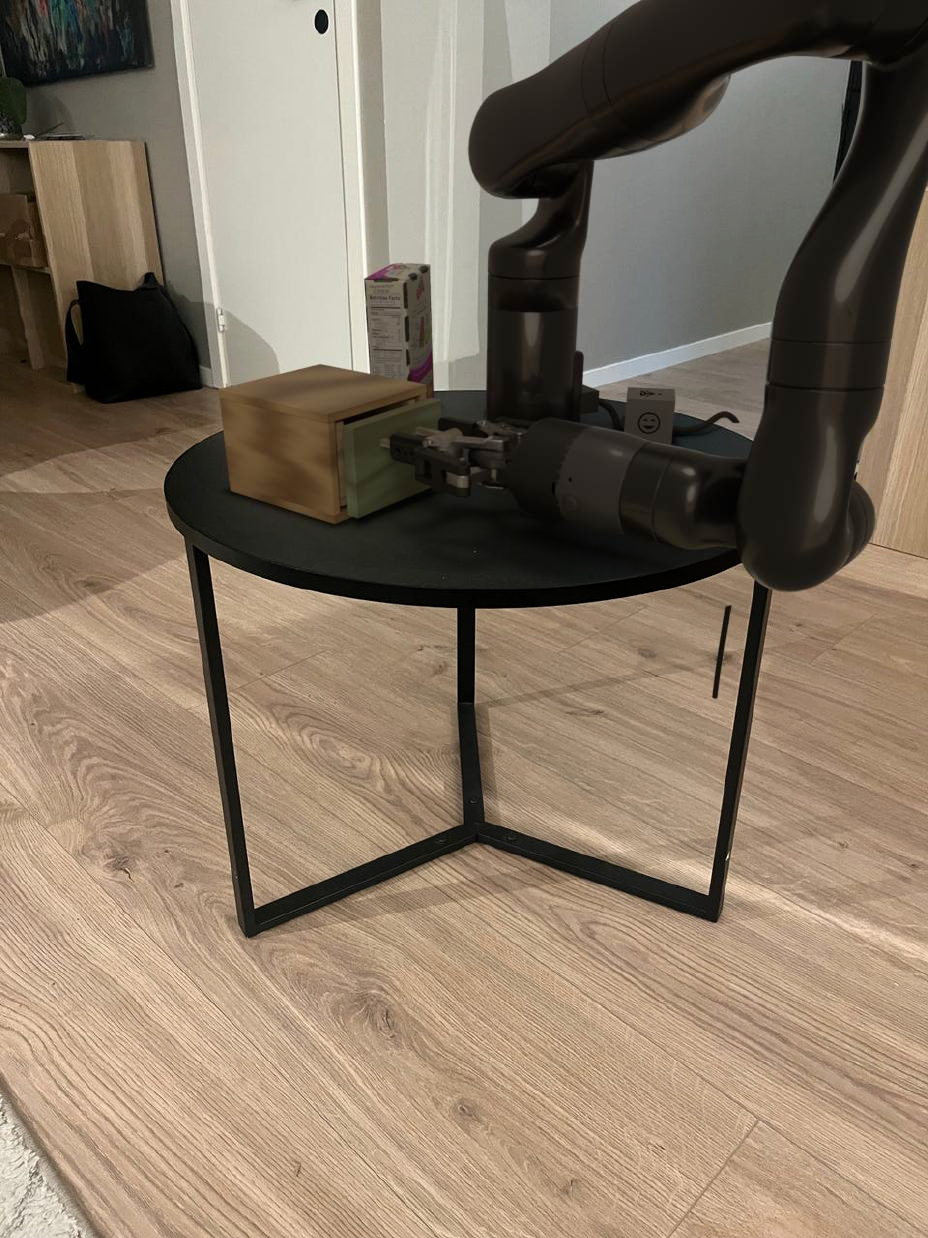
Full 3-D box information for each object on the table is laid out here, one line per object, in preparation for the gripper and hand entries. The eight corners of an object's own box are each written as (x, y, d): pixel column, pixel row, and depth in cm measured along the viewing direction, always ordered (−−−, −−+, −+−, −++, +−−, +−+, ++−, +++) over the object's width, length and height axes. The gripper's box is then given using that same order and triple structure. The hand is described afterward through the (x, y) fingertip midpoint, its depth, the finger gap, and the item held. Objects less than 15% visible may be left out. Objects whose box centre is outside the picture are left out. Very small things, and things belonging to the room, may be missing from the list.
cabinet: (428, 485, 90) (426, 384, 86) (334, 524, 82) (327, 414, 77) (326, 458, 98) (320, 363, 93) (230, 491, 89) (218, 388, 84)
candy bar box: (395, 404, 116) (390, 262, 109) (435, 406, 116) (433, 263, 108) (369, 429, 107) (361, 275, 99) (412, 432, 106) (408, 277, 98)
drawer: (483, 493, 86) (484, 408, 82) (400, 532, 78) (397, 438, 74) (345, 457, 95) (340, 378, 91) (258, 487, 87) (249, 403, 84)
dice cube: (624, 431, 106) (627, 386, 104) (670, 434, 105) (674, 388, 103) (623, 445, 102) (626, 398, 99) (670, 447, 101) (675, 400, 98)
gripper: (639, 407, 75) (468, 376, 84) (536, 451, 64) (355, 410, 74) (631, 498, 78) (468, 458, 87) (533, 553, 68) (360, 502, 77)
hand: (417, 437), depth 80 cm, fingers closed on drawer, 5 cm apart
